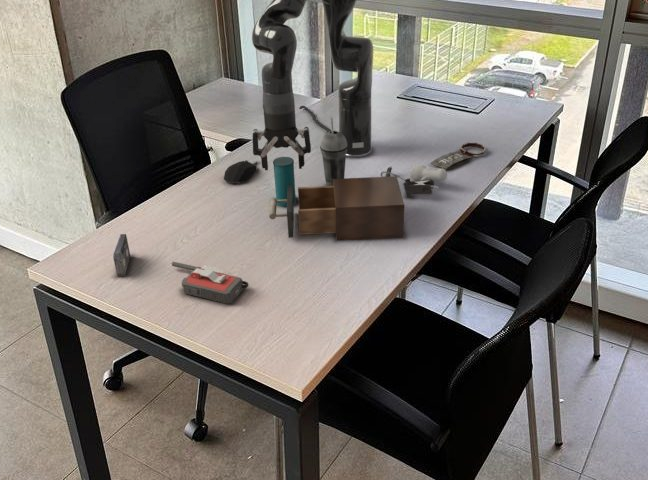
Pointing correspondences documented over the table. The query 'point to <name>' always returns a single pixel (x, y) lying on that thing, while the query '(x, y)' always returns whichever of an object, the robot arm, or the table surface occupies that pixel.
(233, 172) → the gaming mouse
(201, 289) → the walkie-talkie
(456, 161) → the keychain
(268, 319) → the table surface
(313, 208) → the drawer
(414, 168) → the clip-on lamp
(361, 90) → the robot arm
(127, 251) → the mini dv tape
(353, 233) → the cabinet
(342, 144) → the beverage cup
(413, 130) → the table surface
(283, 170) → the tin
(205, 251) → the table surface
